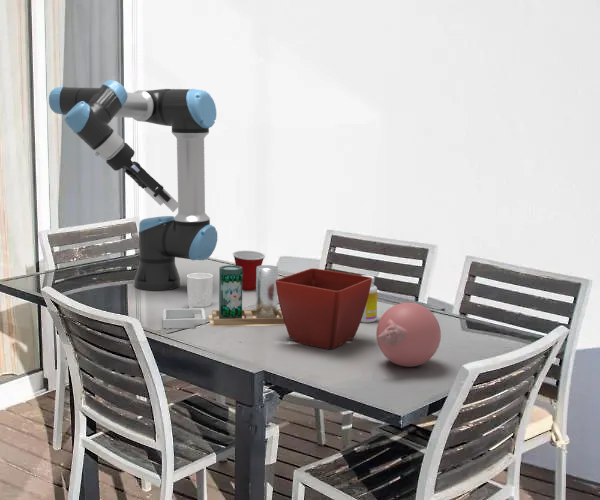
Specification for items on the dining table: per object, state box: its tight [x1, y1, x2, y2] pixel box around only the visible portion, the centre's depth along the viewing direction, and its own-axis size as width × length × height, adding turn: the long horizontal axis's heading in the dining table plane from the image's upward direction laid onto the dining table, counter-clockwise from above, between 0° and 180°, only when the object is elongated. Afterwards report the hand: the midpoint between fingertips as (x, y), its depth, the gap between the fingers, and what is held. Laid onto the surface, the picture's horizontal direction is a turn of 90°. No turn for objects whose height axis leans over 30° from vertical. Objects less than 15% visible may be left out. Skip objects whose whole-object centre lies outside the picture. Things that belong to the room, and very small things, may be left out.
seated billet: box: [255, 264, 279, 318], centre depth 232 cm, size 6×6×15 cm
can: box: [218, 265, 243, 319], centre depth 230 cm, size 6×6×15 cm
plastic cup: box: [232, 250, 266, 291], centre depth 273 cm, size 11×11×12 cm
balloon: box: [375, 302, 442, 368], centre depth 197 cm, size 15×20×15 cm
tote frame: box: [162, 307, 207, 330], centre depth 232 cm, size 12×12×2 cm
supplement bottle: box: [360, 274, 378, 324], centre depth 238 cm, size 7×7×13 cm
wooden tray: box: [208, 308, 286, 328], centre depth 232 cm, size 13×22×3 cm, turn 99°
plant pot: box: [276, 268, 372, 350], centre depth 217 cm, size 19×19×17 cm
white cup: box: [186, 272, 214, 309], centre depth 248 cm, size 8×8×10 cm
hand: (170, 205), depth 230 cm, fingers open, 13 cm apart
